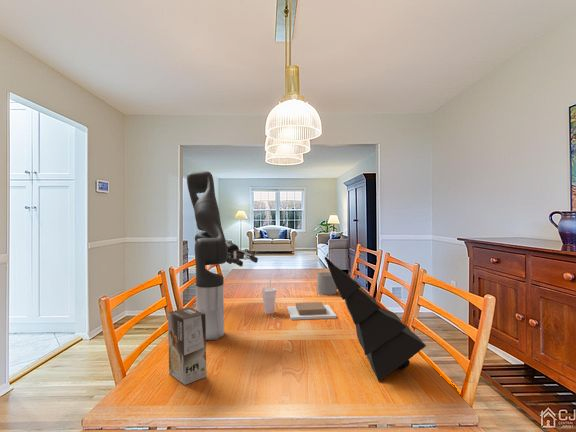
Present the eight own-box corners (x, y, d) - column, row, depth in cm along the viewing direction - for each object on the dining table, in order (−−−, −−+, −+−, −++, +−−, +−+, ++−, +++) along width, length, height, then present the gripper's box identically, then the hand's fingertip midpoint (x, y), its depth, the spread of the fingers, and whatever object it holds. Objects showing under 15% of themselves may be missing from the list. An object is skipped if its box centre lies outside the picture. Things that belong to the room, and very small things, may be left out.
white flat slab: (336, 318, 131) (336, 310, 131) (291, 319, 129) (290, 312, 129) (327, 306, 146) (327, 300, 146) (287, 308, 145) (287, 301, 145)
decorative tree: (374, 368, 95) (302, 268, 96) (417, 338, 94) (344, 238, 95) (388, 395, 80) (302, 278, 81) (438, 360, 80) (351, 243, 81)
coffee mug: (318, 295, 168) (318, 275, 168) (316, 290, 178) (316, 272, 178) (344, 295, 168) (344, 275, 168) (341, 290, 178) (341, 271, 178)
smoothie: (274, 315, 135) (274, 280, 135) (259, 314, 137) (259, 280, 137) (278, 310, 142) (278, 277, 142) (264, 310, 143) (263, 277, 143)
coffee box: (207, 376, 84) (207, 313, 84) (184, 386, 80) (183, 319, 80) (190, 365, 91) (189, 306, 91) (167, 373, 86) (166, 311, 86)
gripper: (214, 243, 146) (238, 257, 136) (239, 239, 157) (263, 251, 147) (212, 259, 148) (235, 273, 138) (237, 254, 159) (260, 267, 149)
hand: (249, 262), depth 143 cm, fingers open, 8 cm apart
